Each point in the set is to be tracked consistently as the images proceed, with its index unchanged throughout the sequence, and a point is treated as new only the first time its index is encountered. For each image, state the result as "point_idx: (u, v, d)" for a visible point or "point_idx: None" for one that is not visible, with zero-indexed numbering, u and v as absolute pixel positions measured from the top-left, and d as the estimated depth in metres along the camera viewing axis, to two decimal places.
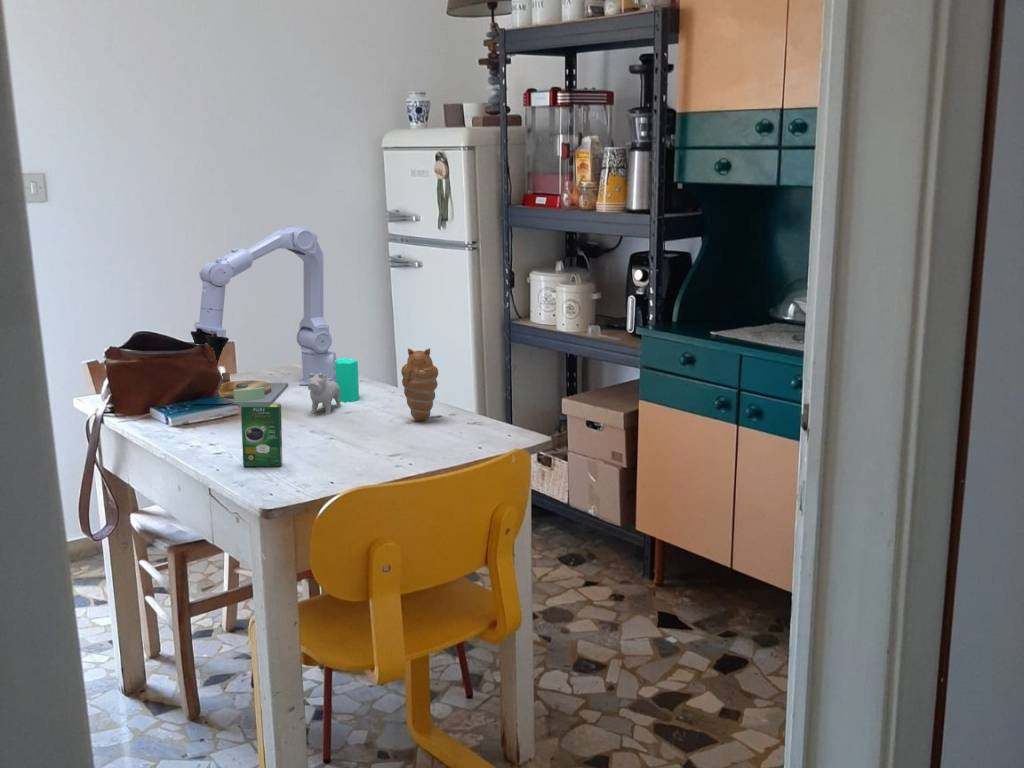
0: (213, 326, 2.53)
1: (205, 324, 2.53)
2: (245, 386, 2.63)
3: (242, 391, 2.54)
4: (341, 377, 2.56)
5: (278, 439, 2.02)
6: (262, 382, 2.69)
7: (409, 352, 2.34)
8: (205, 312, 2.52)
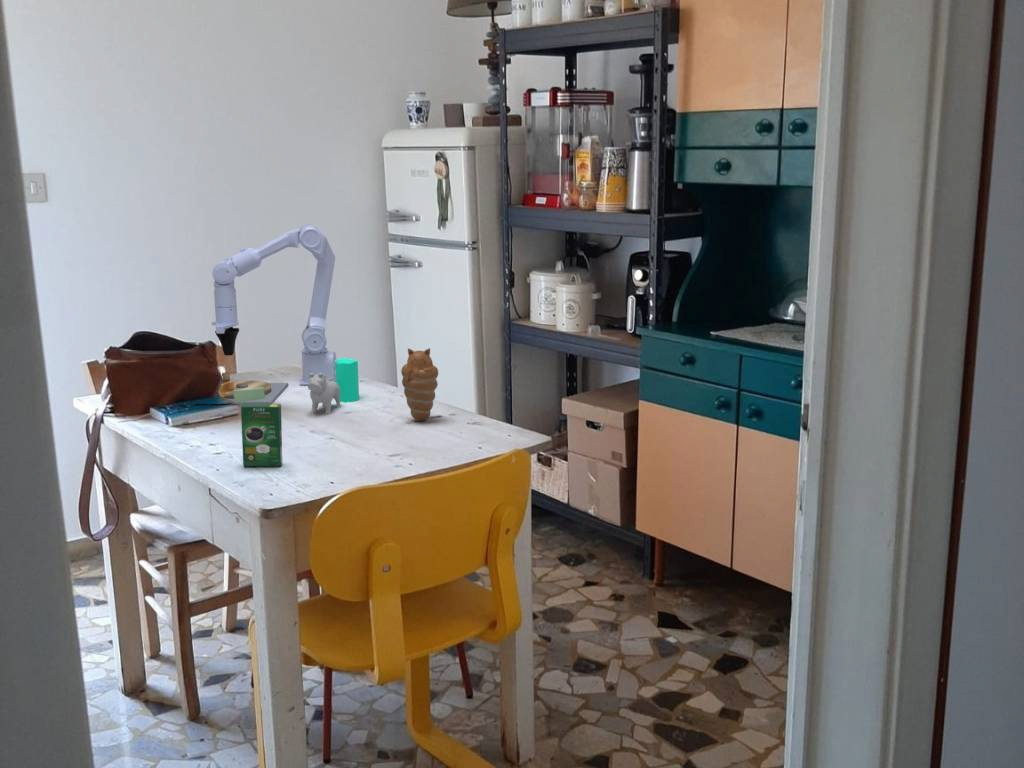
0: (222, 323, 2.67)
1: (216, 321, 2.68)
2: (245, 386, 2.63)
3: (242, 391, 2.54)
4: (341, 377, 2.56)
5: (278, 439, 2.02)
6: (262, 382, 2.69)
7: (409, 352, 2.34)
8: (215, 310, 2.67)
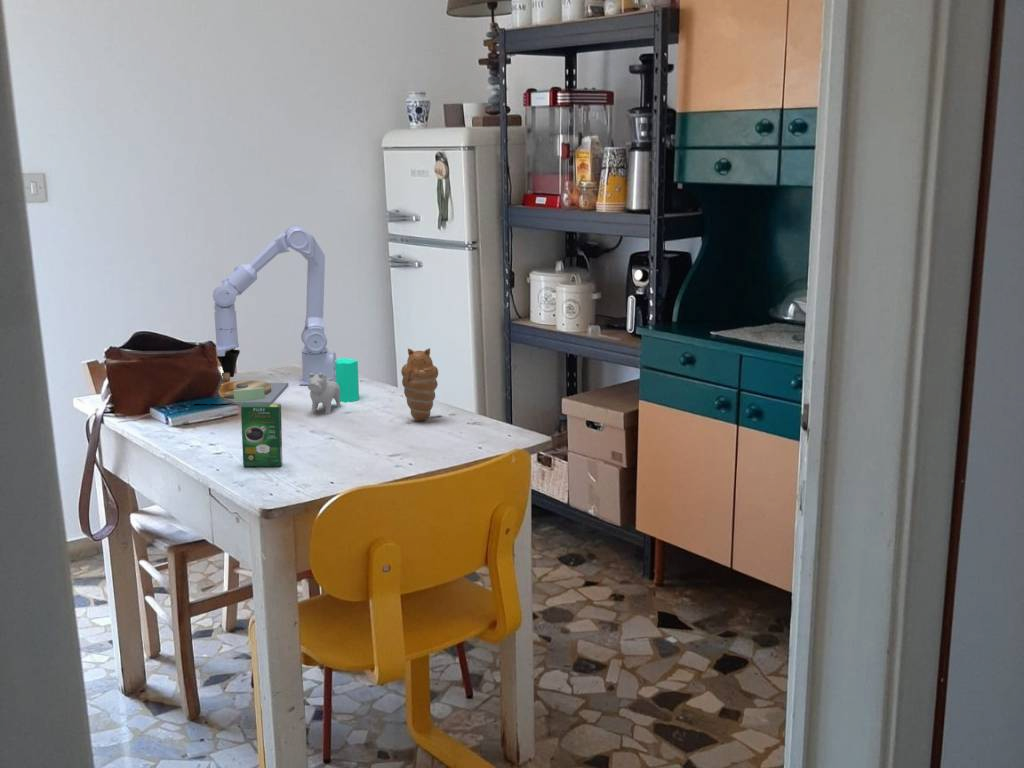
0: (222, 345, 2.67)
1: (217, 343, 2.68)
2: (245, 386, 2.63)
3: (242, 391, 2.54)
4: (341, 377, 2.56)
5: (278, 439, 2.02)
6: (262, 382, 2.69)
7: (409, 352, 2.34)
8: (216, 332, 2.68)
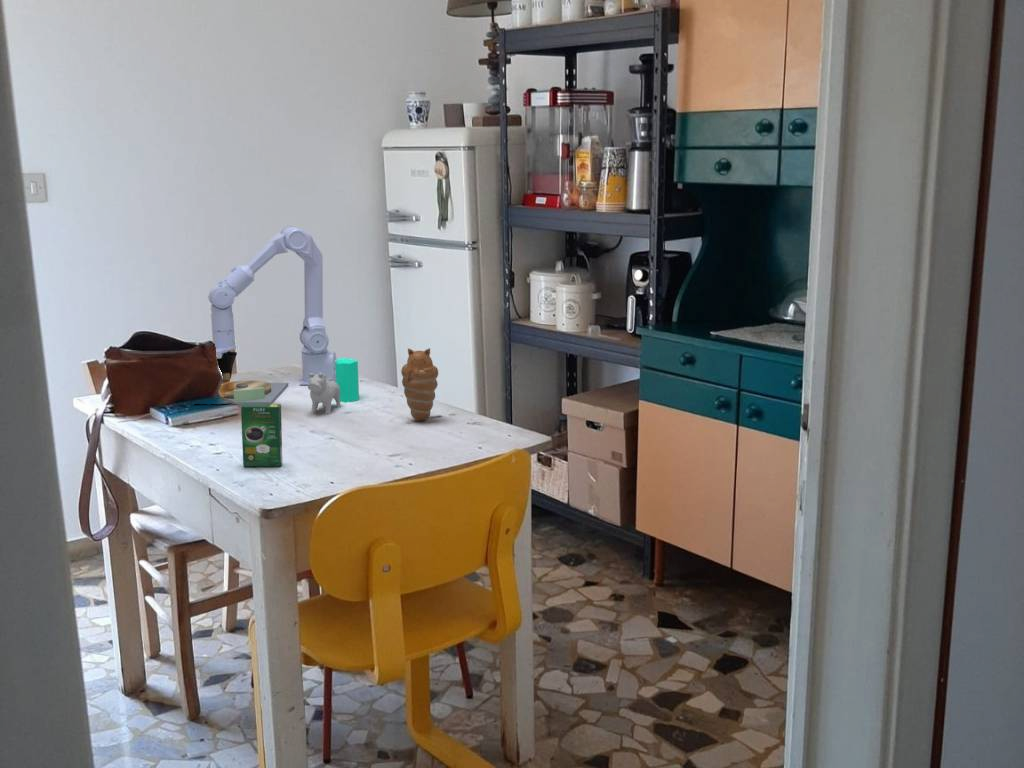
0: (219, 347, 2.64)
1: None
2: (245, 386, 2.63)
3: (242, 391, 2.54)
4: (341, 377, 2.56)
5: (278, 439, 2.02)
6: (262, 382, 2.69)
7: (409, 352, 2.34)
8: (213, 334, 2.65)
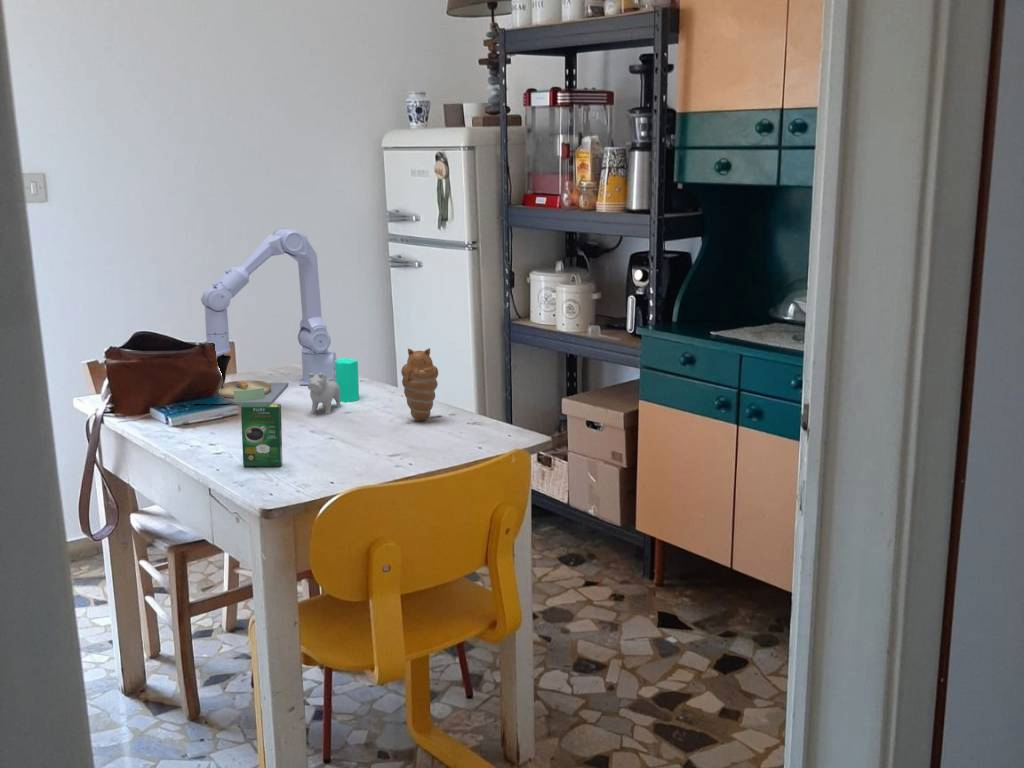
0: None
1: None
2: (247, 385, 2.64)
3: (242, 391, 2.54)
4: (341, 377, 2.56)
5: (278, 439, 2.02)
6: (247, 381, 2.70)
7: (409, 352, 2.34)
8: (206, 337, 2.60)
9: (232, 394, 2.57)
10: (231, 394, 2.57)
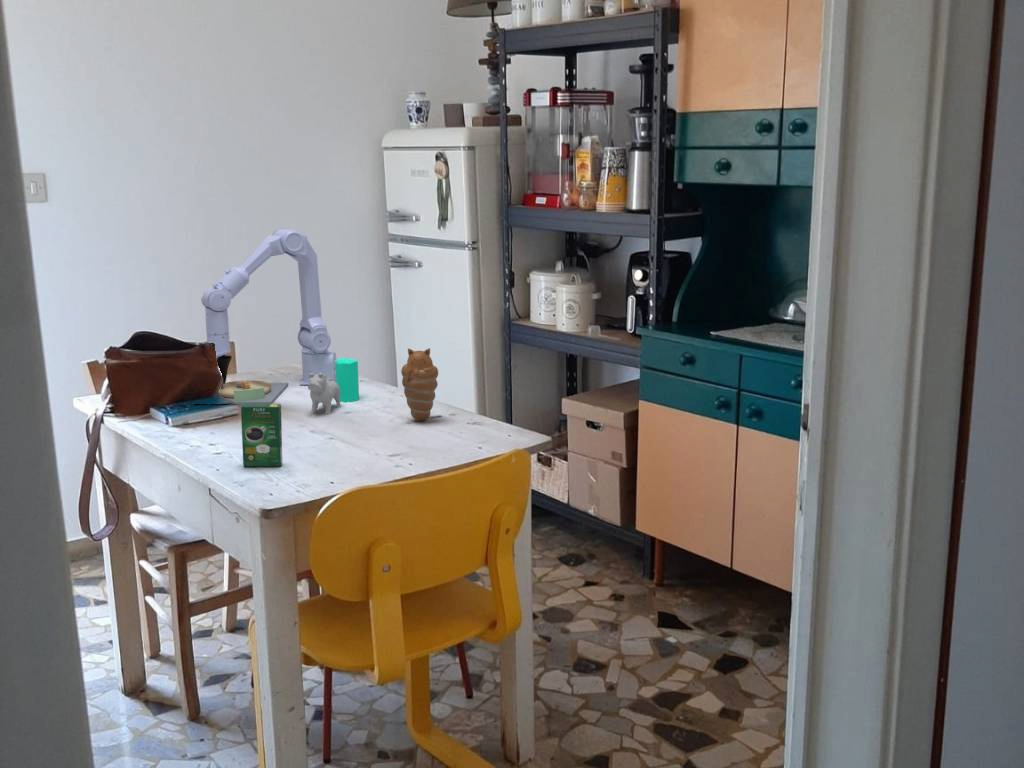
0: None
1: None
2: None
3: (242, 391, 2.54)
4: (341, 377, 2.56)
5: (278, 439, 2.02)
6: None
7: (409, 352, 2.34)
8: (207, 337, 2.60)
9: None
10: None
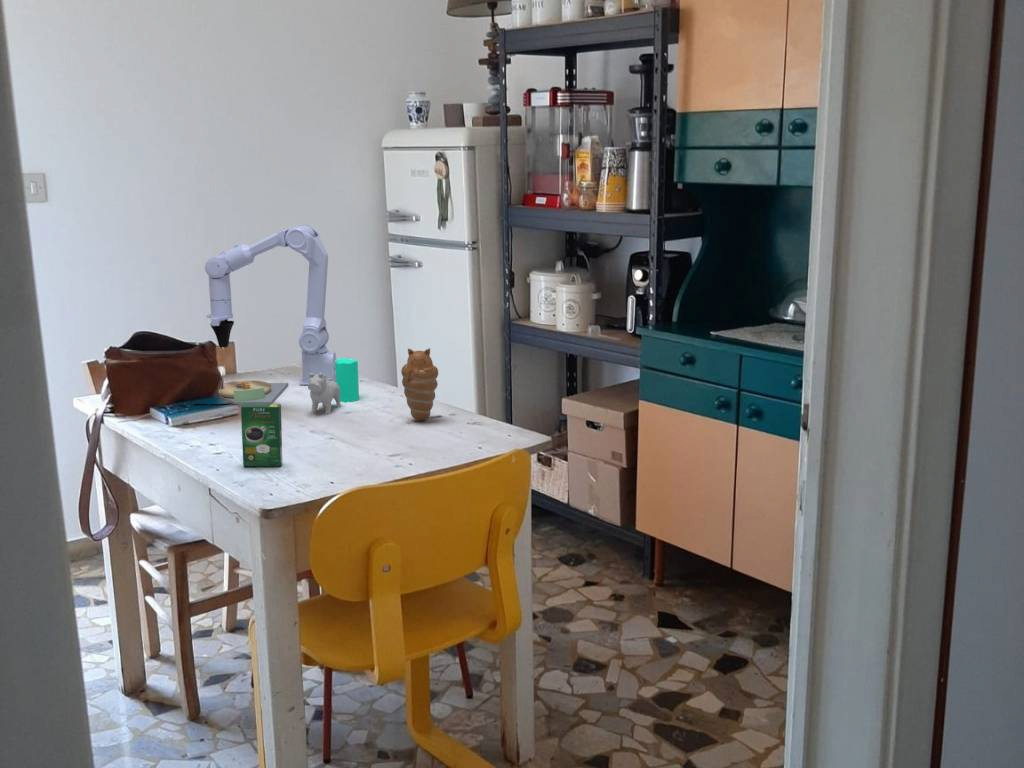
0: (217, 315, 2.74)
1: (211, 314, 2.75)
2: None
3: (242, 391, 2.54)
4: (341, 377, 2.56)
5: (278, 439, 2.02)
6: None
7: (409, 352, 2.34)
8: (210, 303, 2.74)
9: None
10: None
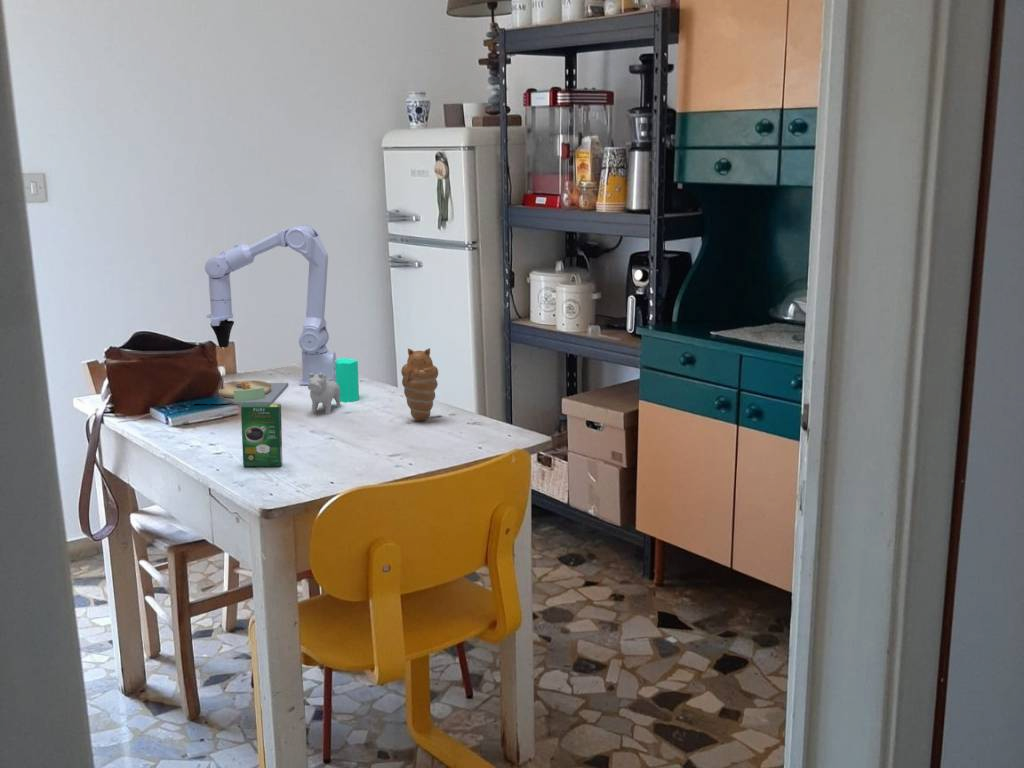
0: (217, 315, 2.74)
1: (212, 314, 2.75)
2: None
3: (242, 391, 2.54)
4: (341, 377, 2.56)
5: (278, 439, 2.02)
6: None
7: (409, 352, 2.34)
8: (210, 303, 2.74)
9: None
10: None
